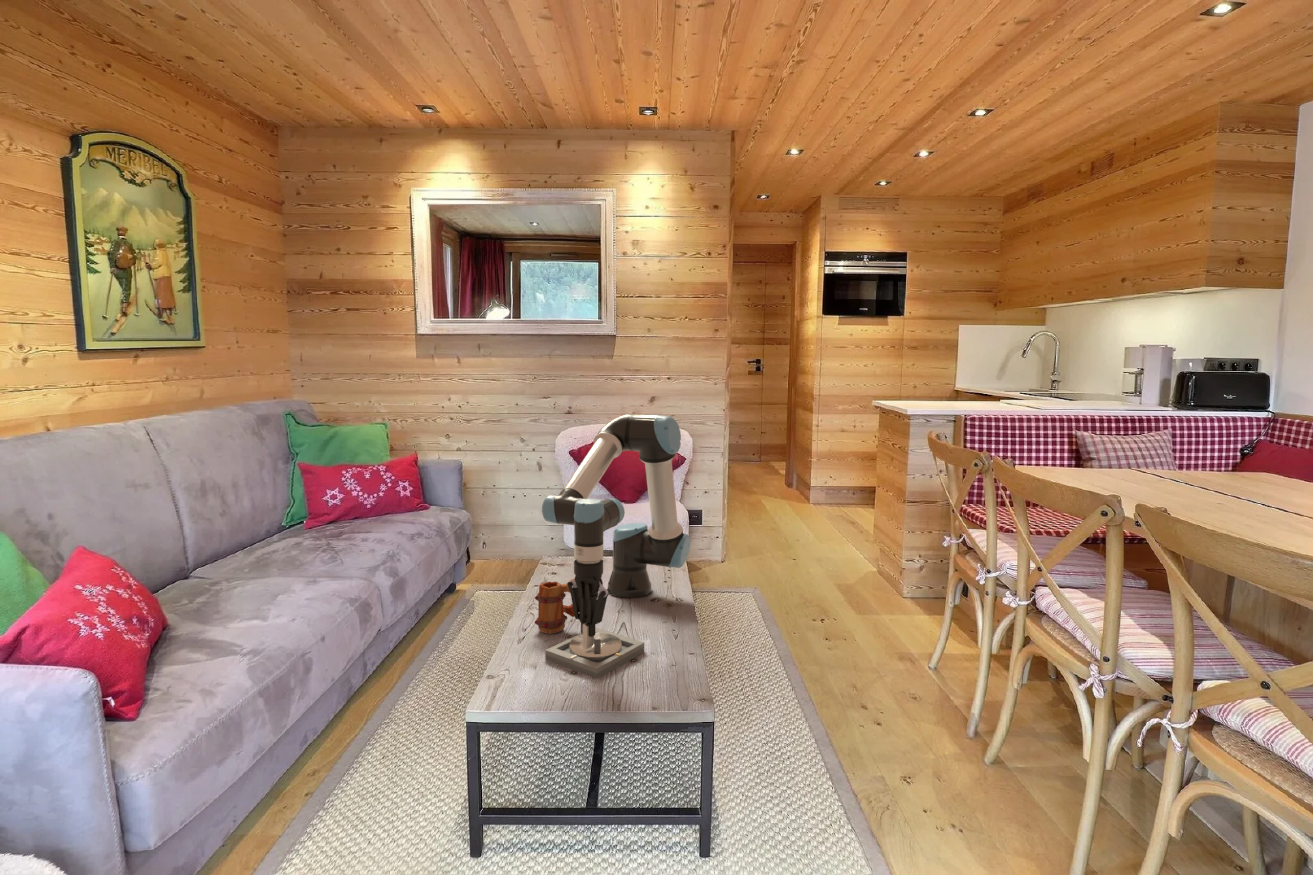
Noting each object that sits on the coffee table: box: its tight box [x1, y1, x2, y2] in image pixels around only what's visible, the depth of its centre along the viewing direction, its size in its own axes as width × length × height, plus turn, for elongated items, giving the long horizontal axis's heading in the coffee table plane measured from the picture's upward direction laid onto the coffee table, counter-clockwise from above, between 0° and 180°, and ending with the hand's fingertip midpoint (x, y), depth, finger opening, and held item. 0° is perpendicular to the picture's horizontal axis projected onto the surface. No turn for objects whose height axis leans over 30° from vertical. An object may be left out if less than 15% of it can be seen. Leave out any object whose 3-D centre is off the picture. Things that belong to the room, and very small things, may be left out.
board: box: [544, 626, 645, 680], centre depth 185 cm, size 20×18×3 cm
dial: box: [570, 632, 622, 662], centre depth 185 cm, size 14×14×6 cm
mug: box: [534, 578, 579, 635], centre depth 202 cm, size 15×8×15 cm, turn 105°
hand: (588, 646), depth 180 cm, fingers closed
